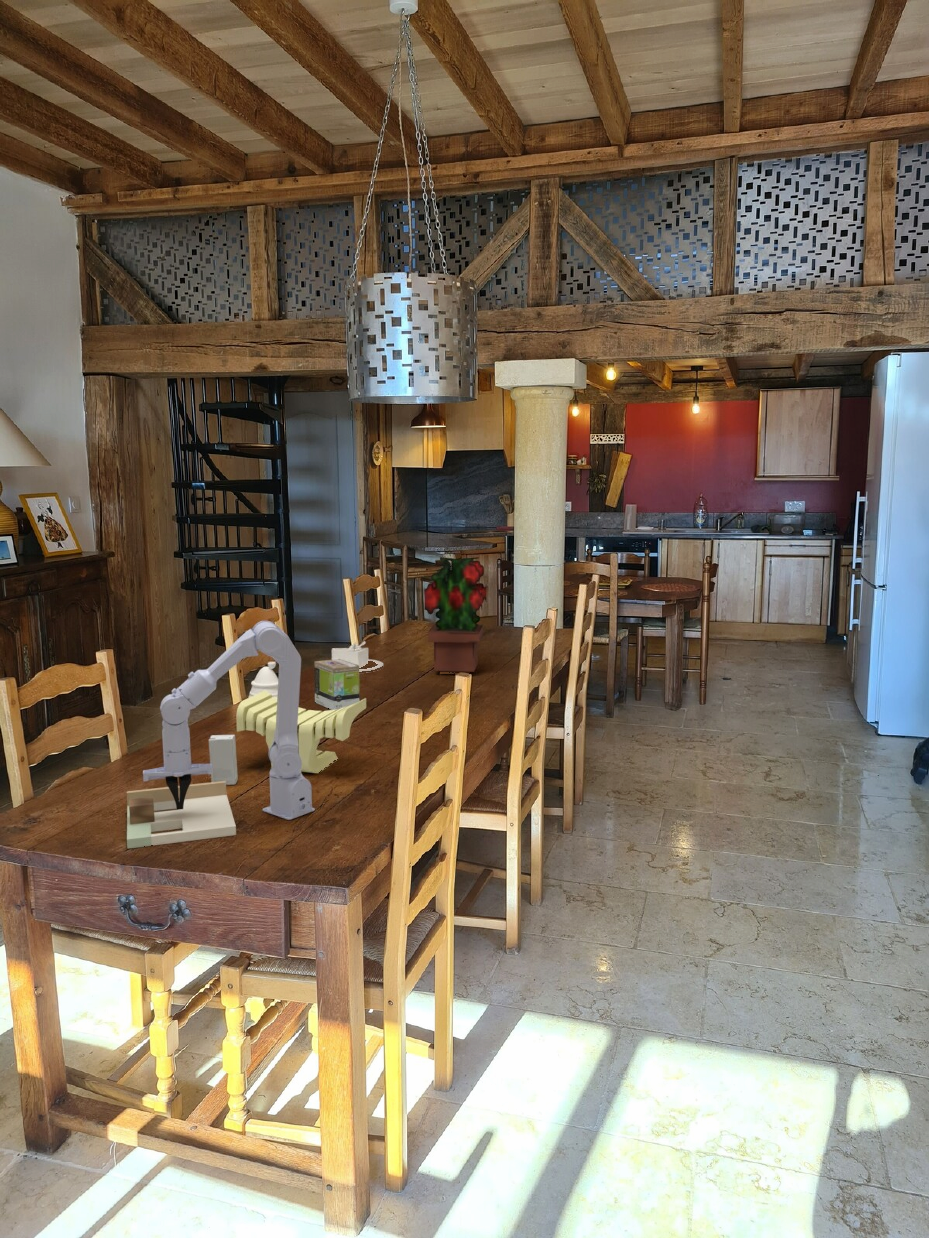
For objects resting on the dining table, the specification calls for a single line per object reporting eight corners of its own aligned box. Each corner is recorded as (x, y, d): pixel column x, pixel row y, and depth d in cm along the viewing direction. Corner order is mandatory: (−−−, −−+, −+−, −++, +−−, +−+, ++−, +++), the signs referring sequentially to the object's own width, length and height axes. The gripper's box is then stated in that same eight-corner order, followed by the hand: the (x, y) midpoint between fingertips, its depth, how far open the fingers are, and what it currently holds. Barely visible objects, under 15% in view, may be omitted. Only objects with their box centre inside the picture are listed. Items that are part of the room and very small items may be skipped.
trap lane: (226, 800, 216) (225, 780, 215) (236, 834, 195) (235, 812, 195) (127, 812, 208) (126, 791, 208) (127, 848, 188) (126, 825, 187)
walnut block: (154, 813, 202) (153, 796, 201) (154, 821, 197) (153, 804, 197) (130, 816, 200) (129, 799, 200) (130, 824, 196) (129, 806, 195)
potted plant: (486, 666, 370) (486, 556, 363) (481, 678, 348) (482, 561, 341) (432, 665, 372) (431, 556, 365) (424, 677, 350) (424, 561, 343)
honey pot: (292, 713, 297) (291, 659, 294) (281, 723, 284) (279, 667, 281) (254, 712, 298) (252, 658, 295) (241, 722, 285) (239, 666, 282)
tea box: (360, 708, 303) (360, 664, 301) (333, 712, 298) (332, 668, 295) (340, 699, 316) (339, 657, 313) (314, 702, 310) (313, 660, 308)
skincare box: (238, 779, 231) (236, 733, 229) (235, 785, 227) (233, 738, 225) (213, 780, 231) (211, 734, 229) (210, 786, 226) (208, 739, 224)
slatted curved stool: (238, 769, 239) (235, 703, 236) (267, 752, 254) (265, 690, 252) (343, 780, 231) (342, 712, 228) (367, 761, 246) (366, 697, 243)
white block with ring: (392, 663, 378) (391, 636, 376) (369, 675, 354) (369, 647, 352) (337, 660, 384) (337, 633, 383) (311, 672, 361) (311, 644, 359)
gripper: (142, 757, 193) (145, 818, 195) (212, 750, 198) (215, 809, 200) (141, 748, 200) (145, 807, 202) (209, 741, 205) (212, 799, 207)
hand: (179, 807), depth 201 cm, fingers closed
